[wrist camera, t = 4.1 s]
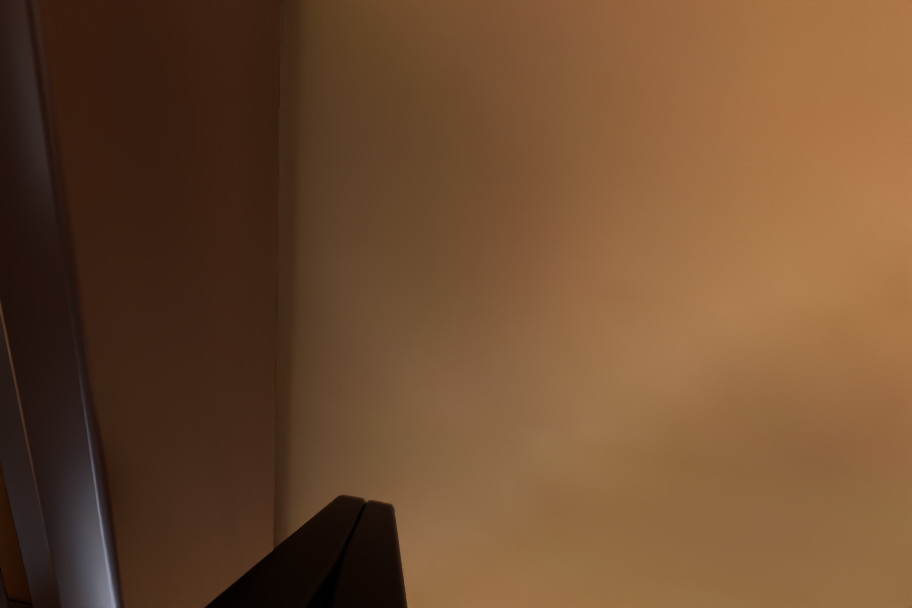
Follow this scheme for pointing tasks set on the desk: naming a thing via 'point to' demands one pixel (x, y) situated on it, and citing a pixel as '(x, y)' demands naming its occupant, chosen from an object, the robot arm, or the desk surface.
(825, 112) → the desk surface
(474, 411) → the desk surface
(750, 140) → the desk surface
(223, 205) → the rack
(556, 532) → the desk surface
